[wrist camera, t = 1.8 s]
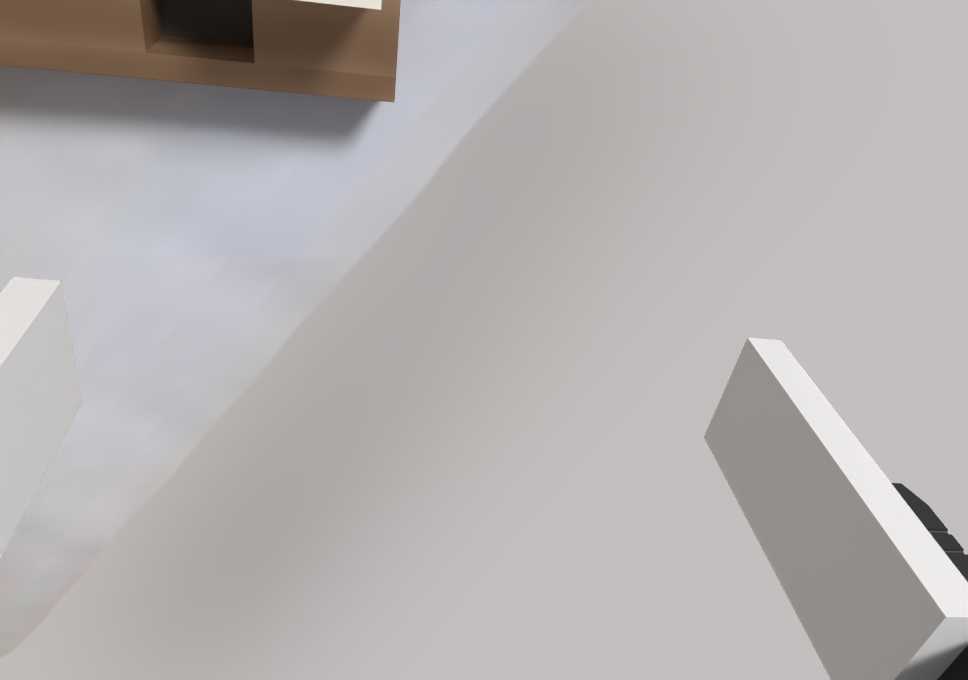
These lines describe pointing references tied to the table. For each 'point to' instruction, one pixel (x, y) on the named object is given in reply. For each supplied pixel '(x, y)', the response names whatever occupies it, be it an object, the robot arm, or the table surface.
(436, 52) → the table surface
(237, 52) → the board
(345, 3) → the ivory block
